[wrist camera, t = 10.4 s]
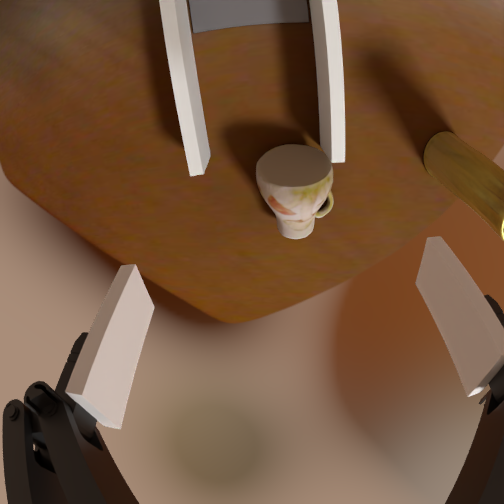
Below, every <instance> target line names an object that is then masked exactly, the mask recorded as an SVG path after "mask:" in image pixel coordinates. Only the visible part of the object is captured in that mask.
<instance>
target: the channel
mask: <svg viewBox="0 0 504 504" xmlns="http://www.w3.org/2000/svg"><path fill="white" fill-rule="evenodd" d="M159 3H160V10H161V17H162V24H163V31H164V37H165V44H166V50H167V56H168V62H169V68H170V74H171V80H172V86H173V91H174V97H175V102H176V108H177V113H178V118H179V123H180V128H181V133H182V138H183V143H184V148H185V153H186V158H187V163H188V167H189V172H190V176H194V175H201V174H204V172H205V169H206V166H207V164H208V161H209V159H210V156H211V155H210V149H209V144H208V138H207V132H206V126H205V120H204V114H203V108H202V102H201V96H200V90H199V84H198V77H197V71H196V65H195V58H194V52H193V45H192V38H191V31H190V25H189V18H188V11H187V3H186V0H159ZM309 3H310V11H311V19H312V28H313V38H314V48H315V60H316V72H317V86H318V103H319V124H320V146H321V148H322V149H323V151H324V152H325V154H326V155H327V156H328V158H329V159H330V161H331V162H332V163H335V162H345V102H344V77H343V60H342V47H341V35H340V25H339V15H338V7H337V0H309ZM189 4H190V11H191V19H192V26H193V32H194V33H198V32H204V31H210V30H216V29H222V28H230V27H237V26H246V25H257V24H270V23H294V22H309V17H308V9H307V1H306V0H189Z"/></svg>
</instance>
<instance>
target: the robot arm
mask: <svg viewBox="0 0 504 504" xmlns="http://www.w3.org/2000/svg"><path fill="white" fill-rule="evenodd" d="M415 284H416V286H417V287H418V289H419V291H420V293H421V295H422V297H423V299H424V301H425V303H426V304H427V306H428V308H429V310H430V312H431V314H432V316H433V318H434V320H435V323H436V324H437V327H438V329H439V331H440V333H441V335H442V337H443V339H444V342H445V344H446V346H447V348H448V350H449V353H450V355H451V357H452V360H453V362H454V364H455V367H456V369H457V372H458V374H459V376H460V379H461V382H462V384H463V387H464V389H465V392H466V394H467V397H469V396H472V395H474V394H477V393H479V392H481V391H482V390H483V389H484V388H485V387H486V386H487V384H489V386H490V388H491V389H490V390H489V391H488V392H487V394H486V395H485V396H484V397H483V398H482V399H481V400H480V402H479V404H482V403H483V402H484V401H485V400H486V402H485V404H484V409H483V412H482V416H481V419H480V422H479V425H478V428H477V431H476V434H475V437H474V440H473V442H472V445H471V448H470V450H469V453H468V455H467V458H466V460H465V463H464V466H463V467H462V470H461V472H460V474H459V476H458V479H457V481H456V483H455V485H454V487H453V489H452V491H451V493H450V495H449V497H448V499H447V501H446V503H445V504H504V314H503V311H502V309H501V308H500V306H499V305H498V303H497V302H496V301H495V300H494V299H492V297H490V296H489V295H485V296H484V295H483V294H482V292H481V291H480V289H479V288H478V286H477V285H476V283H475V282H474V281H473V279H472V278H471V276H470V275H469V273H468V272H467V271H466V269H465V268H464V267H463V265H462V264H461V262H460V261H459V260H458V258H457V257H456V256H455V254H454V253H453V252H452V250H451V249H450V248H449V246H448V245H447V244H446V243H445V241H444V240H443V239H442V238H441V237H440V236H439V237H428V238H427V241H426V246H425V250H424V254H423V258H422V262H421V266H420V269H419V273H418V276H417V280H416V283H415ZM153 311H154V305H153V303H152V301H151V298H150V296H149V294H148V292H147V290H146V287H145V285H144V283H143V281H142V278H141V276H140V273H139V271H138V269H137V266H136V264H132V265H122V266H121V267H120V269H119V271H118V273H117V275H116V277H115V279H114V281H113V283H112V285H111V286H110V289H109V291H108V293H107V295H106V297H105V299H104V301H103V303H102V305H101V307H100V309H99V311H98V314H97V316H96V318H95V320H94V322H93V324H92V327H91V329H90V331H89V333H85V332H84V333H82V334H81V335H80V337H79V338H78V339H77V340H76V341H75V343H74V345H73V348H72V350H71V354H69V357H68V359H67V362H66V364H65V366H64V369H63V371H62V374H61V376H60V379H59V381H58V384H57V386H56V389H55V391H54V390H53V389H52V388H51V387H50V386H49V385H48V384H46V383H45V382H42V381H38V382H35V383H33V384H32V385H31V386H29V388H28V389H27V391H26V392H25V396H24V404H23V403H22V402H21V401H19V400H17V399H14V400H12V401H10V402H9V403H8V404H7V405H6V407H5V409H4V412H3V461H4V475H5V484H6V492H7V500H8V504H139V502H138V501H137V499H136V498H135V496H134V495H133V493H132V492H131V490H130V488H129V486H128V485H127V483H126V481H125V480H124V478H123V476H122V475H121V473H120V471H119V469H118V467H117V466H116V464H115V462H114V460H113V458H112V456H111V454H110V452H109V450H108V448H107V446H106V444H105V442H104V440H103V438H102V436H101V434H100V432H99V430H98V429H97V427H96V422H97V421H99V422H100V423H101V424H102V425H104V426H106V427H111V428H117V429H121V425H122V421H123V416H124V413H125V409H126V405H127V401H128V397H129V393H130V389H131V385H132V382H133V378H134V374H135V371H136V367H137V364H138V360H139V356H140V353H141V349H142V346H143V343H144V339H145V336H146V333H147V330H148V326H149V323H150V320H151V317H152V314H153ZM33 444H34V445H35V451H34V450H33Z"/></svg>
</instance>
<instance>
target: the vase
mask: <svg viewBox="0 0 504 504" xmlns="http://www.w3.org/2000/svg"><path fill="white" fill-rule="evenodd" d="M424 165H425V168H426V170H427V171H428V173H429V174H430V175H431V176H432V177H434V178H436V179H437V180H438V181H439V182H441V183H442V184H443V185H444V186H445V187H446V188H448V189H449V190H450V191H451V192H453V193H454V194H455V195H456V196H457V197H459V198H460V199H461V200H462V201H463V202H465V203H466V204H467V205H468V206H469V207H471V208H472V209H473V210H474V211H475V212H476V213H477V214H478V215H479V216H480V217H481V218H482V219H483V220H484V221H485V222H486V223H487V224H488V225H489V226H490V227H491V228H492V229H493V230H494V231H495V232H496V233H497V234H498V235H499V236H500V238H501V239H502V240H503V241H504V170H503V169H501V168H500V167H499V166H498V165H497V164H495V163H494V162H493V161H491V160H490V159H489V158H487V157H486V156H485V155H483V154H482V153H480V152H479V151H477V150H476V149H474V148H472V147H471V146H469V145H468V144H467V143H465V142H464V141H462V140H461V139H459V138H458V137H457V136H456V135H455V134H453V133H451V132H447V131H444V132H440V133H437V134H436V135H434V136H433V137H432V138H431V139H430V140H429V142H428V143H427V145H426V148H425V151H424Z"/></svg>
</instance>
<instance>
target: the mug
mask: <svg viewBox="0 0 504 504" xmlns="http://www.w3.org/2000/svg"><path fill="white" fill-rule="evenodd" d="M256 179H257V185H258V188H259V191H260V193H261V195H262V196H263V198H264V199H265V201H266V202H267V204H268V205H269V206H270V208H271V209H272V210H273V212H274V213H275V215H276V218H277V227H278V230H279V232H280V233H281V234H282V235H283V236H285V237H287V238H291V239H300V238H304V237H306V236H308V235H309V234H310V233H311V232H312V230H313V228H314V220H315V217H317V218H320V217H323V216H324V215H326V214H327V213H328V212H329V211H330V210H331V208H332V206H333V203H334V199H333V194H332V192H331V186H332V182H333V168H332V164H331V161H330V159H329V158H328V156H327V155H326V154H325V153H324V152H322V151H320V150H318V149H316V148H314V147H311V146H306V145H297V144H287V145H282V146H278V147H275V148H273V149H271V150H269V151H268V152H266V153H265V154H264V155H263V156H262V157H261V158H260V159H259V160H258V162H257V165H256ZM326 198H327V204H326V206H325V207H324V208H323V209H321V210H319V208H320V207H321V205H322V204H323V203H324V201H325V200H326ZM318 210H319V211H318Z"/></svg>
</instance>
